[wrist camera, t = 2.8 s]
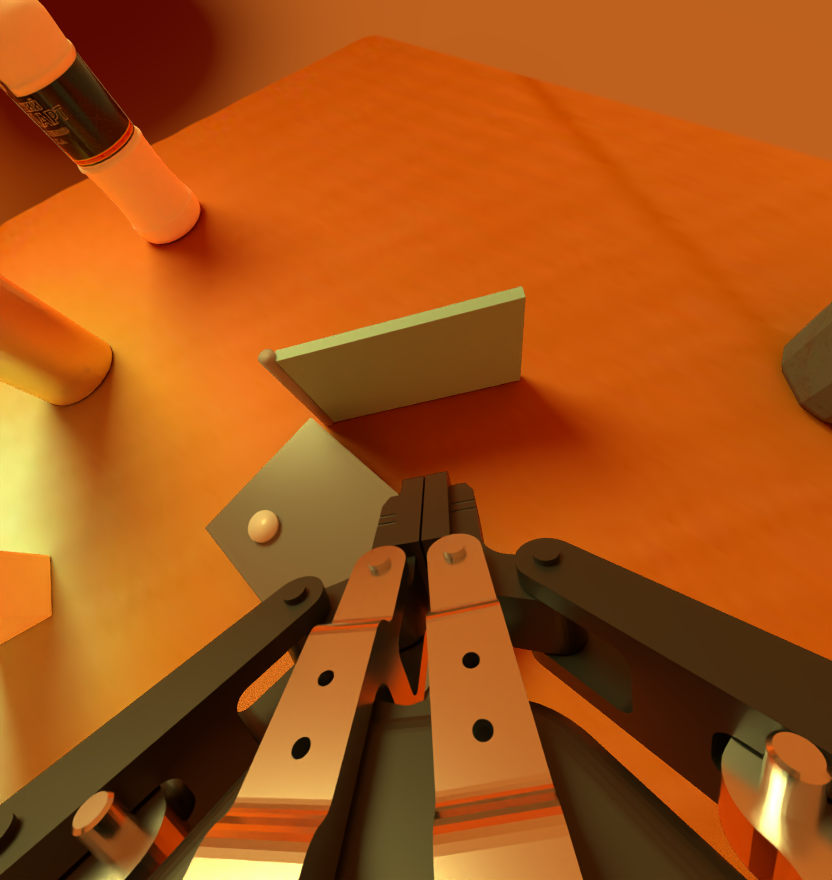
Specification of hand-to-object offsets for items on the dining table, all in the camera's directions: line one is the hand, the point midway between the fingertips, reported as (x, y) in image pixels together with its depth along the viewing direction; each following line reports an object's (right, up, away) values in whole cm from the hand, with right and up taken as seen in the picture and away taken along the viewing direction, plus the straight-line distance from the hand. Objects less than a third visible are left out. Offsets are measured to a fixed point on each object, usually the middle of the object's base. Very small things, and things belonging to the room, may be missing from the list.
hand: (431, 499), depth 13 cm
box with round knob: (-5, -7, +18) cm, 20 cm away
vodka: (-34, +32, +41) cm, 63 cm away
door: (0, +6, +22) cm, 22 cm away
